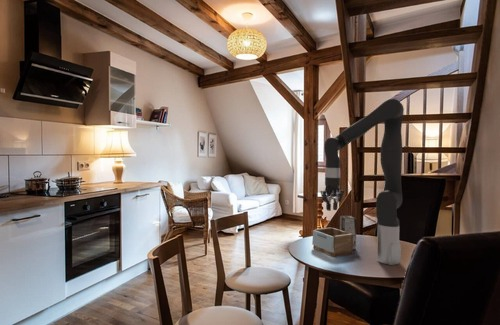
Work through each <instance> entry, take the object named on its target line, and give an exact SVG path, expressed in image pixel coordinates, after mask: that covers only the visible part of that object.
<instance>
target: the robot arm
mask: <svg viewBox="0 0 500 325" xmlns="http://www.w3.org/2000/svg"><path fill="white" fill-rule="evenodd" d="M404 110H405V109H404V104H402V102H400V100H398V99H397V98H388V99H386V100H385V101H383V102H382V103H381V104H380V105H379V106H378V107H376V108H375V109H373V110H372V111H371V112H370V113H369V114H367V115H366V116H364V117H363V118H361V119H359V120H358V121H356V122H355V123H353V124H351V125H350V126H348V127H346V128H345V129H344V130H342V131H341V132H340V133H339V134H338V135H337V136H334V137H333V136H332V137H331V136H329V137H328V138H326V140H325V141H324V146H323V147H324V154H325V172H324V186H325V187H324V190H320V195H321V200H322V201H323V203H325V204H326V207H325V208H326V210H327V211H329V212H330V211H332V210H333V211H337V210H338V207H339V206H338V203H339V202H340V203H341V202H342V200H343V196H344V193H345V191H344V189H342V190H341V188H340V186H341V158H340V157H339V151H340V150H342V149H344V148H345V147H347V145H349V143H352V142H354V141H356V140H357V139H359V138H361V137H362V136H364V135H365V134H367V132H369V131H370V130H372V129H373V128H374V127H375V126H377V125H379V124H381V123H384V124H383V125H384V130H383V131H384V132H383V136H382V141H381V146H380V166H381V168H382V169H381V171H382V172H383V175H384V176H383V177H384V190H383V191H381V192H379V193H378V194H377V197H376V201H375V204H376V205H375V206H376V207H375V209H376V210H375V211H376V214H375V215H376V219H377V234H376V235H377V240H376V244H377V246H376V261H377V262H379V263H381V264H385V265H390V266H393V265H399V264H401V252H402V251H401V250H402V248H401V247H402V244H401V242H400V219H399V218H398V216H397V215H398V214H397V212H398V211H397V209H399V208H400V207H401V206H402V203H403V192H402V189H403V188H402V168H403V167H402V164H403V139H402V124H403V117H404V113H405V112H404ZM332 200H333V203H331V202H332Z"/></svg>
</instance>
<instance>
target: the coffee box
mask: <svg viewBox="0 0 500 325" xmlns="http://www.w3.org/2000/svg"><path fill="white" fill-rule="evenodd" d="M339 219H340V220H339V230H342V231H345V232H348V233H351V234H353V250H356V249H357V248H356V247H357V218H356V217H354V216H352V215H340V218H339Z"/></svg>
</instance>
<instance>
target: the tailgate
mask: <svg viewBox="0 0 500 325" xmlns="http://www.w3.org/2000/svg"><path fill="white" fill-rule="evenodd" d="M311 241H312V243H311V244H312V245H313V246H314V245H315V246H317V247H320V248H322V249H324V250H327V251H329V252H331V253H332V252H333V243H334V237H333V236H330V235H327V234H324V233H321V232H319V231H316V230H315V229H313V230H312V240H311Z"/></svg>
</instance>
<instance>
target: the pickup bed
mask: <svg viewBox="0 0 500 325" xmlns="http://www.w3.org/2000/svg"><path fill="white" fill-rule="evenodd" d="M314 230H316V231H319V232H321V233H324V234H327V235H330V236H333V237H334V243H333V252H332V253H331V252H329V251H327V250H324V249H322V248H320V247H317V246H315V245H313V249H314V250H317V251H319V252H322V253H324V254H325V255H328V256H331V257H333V258H337V257H338V258H339V257H343V256H348V255H353V253H354V252H353V251H354V249H353V234H351V233H348V232H345V231H342V230H340V228H339V229H338V228H334V227H332V226H331V227H321V228H315V229H314Z"/></svg>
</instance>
